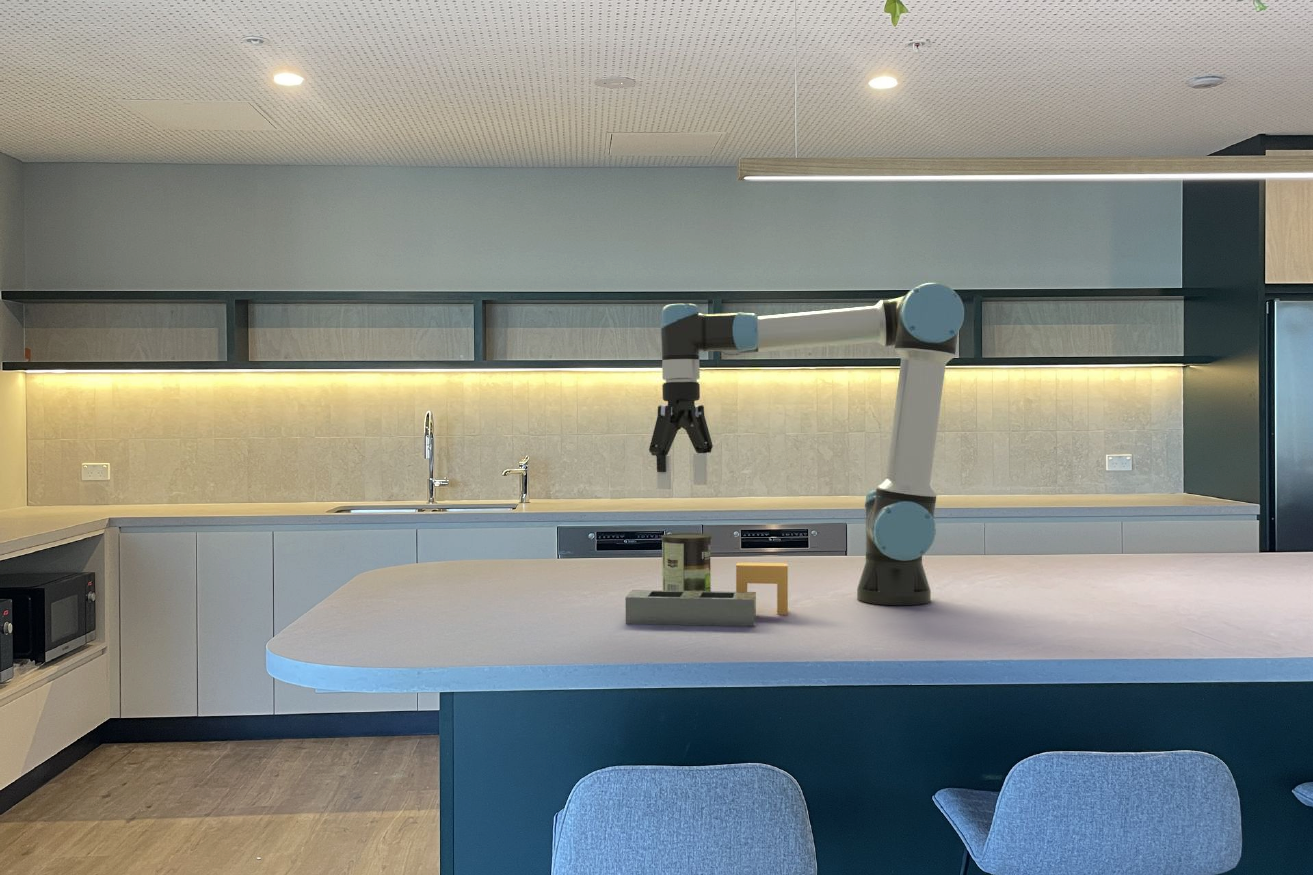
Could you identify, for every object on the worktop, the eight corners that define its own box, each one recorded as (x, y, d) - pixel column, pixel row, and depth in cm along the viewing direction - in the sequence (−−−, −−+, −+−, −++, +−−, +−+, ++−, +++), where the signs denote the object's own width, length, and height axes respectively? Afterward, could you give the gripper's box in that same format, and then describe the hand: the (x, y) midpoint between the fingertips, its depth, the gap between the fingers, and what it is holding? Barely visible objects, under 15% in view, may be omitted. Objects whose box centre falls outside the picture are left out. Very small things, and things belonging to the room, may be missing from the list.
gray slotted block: (755, 617, 206) (755, 591, 206) (754, 626, 197) (754, 599, 197) (632, 615, 209) (632, 589, 209) (625, 623, 200) (625, 597, 200)
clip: (787, 610, 213) (787, 563, 213) (787, 614, 209) (787, 566, 209) (737, 609, 214) (737, 562, 214) (736, 613, 210) (736, 565, 210)
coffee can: (714, 599, 227) (714, 532, 227) (707, 607, 217) (706, 538, 216) (666, 597, 229) (666, 532, 229) (657, 606, 219) (656, 537, 218)
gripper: (697, 383, 228) (698, 482, 229) (630, 380, 207) (632, 490, 208) (727, 381, 224) (729, 483, 224) (662, 379, 203) (664, 491, 204)
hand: (682, 486), depth 216 cm, fingers open, 13 cm apart
